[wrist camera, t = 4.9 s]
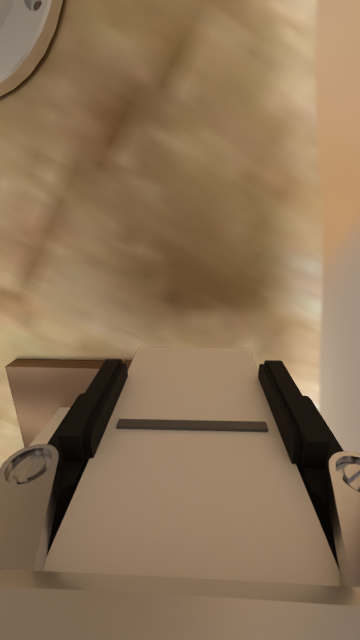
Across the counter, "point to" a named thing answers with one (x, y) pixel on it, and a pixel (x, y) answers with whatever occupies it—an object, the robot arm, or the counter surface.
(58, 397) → the walnut board
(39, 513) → the robot arm
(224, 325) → the counter surface
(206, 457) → the domino
